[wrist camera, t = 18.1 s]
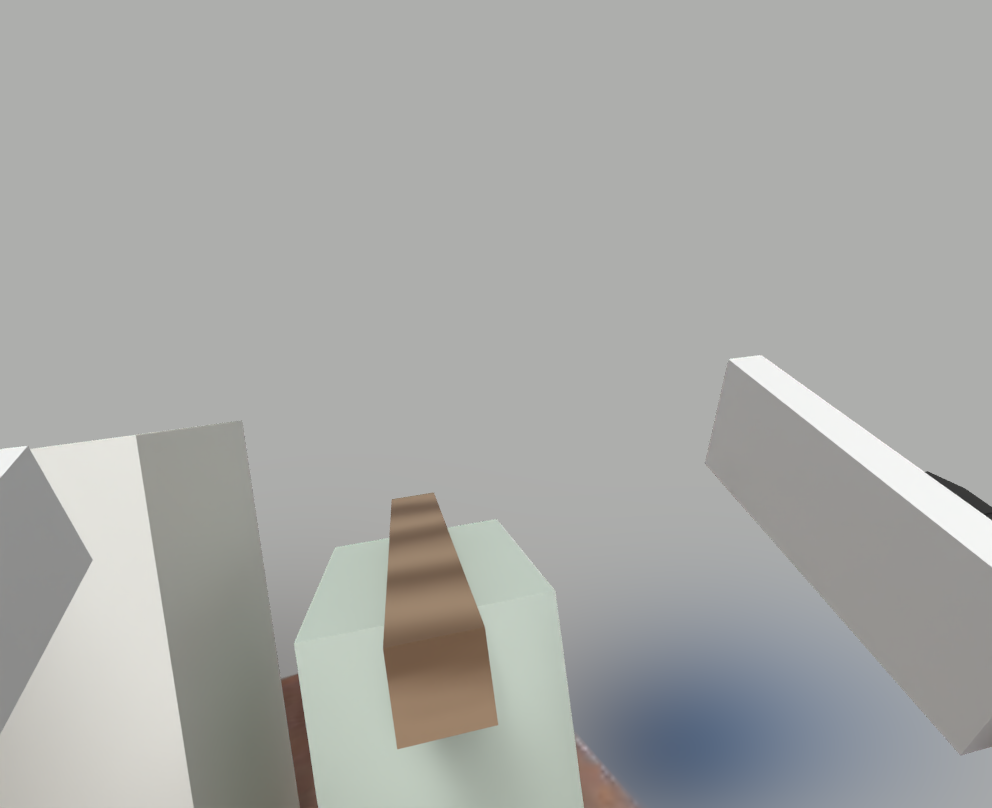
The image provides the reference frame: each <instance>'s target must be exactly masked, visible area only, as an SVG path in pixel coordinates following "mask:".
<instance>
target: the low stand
mask: <svg viewBox="0 0 992 808" xmlns="http://www.w3.org/2000/svg"><path fill="white" fill-rule="evenodd" d="M447 529H448V532H449V534H450V537H451V539H452V542H453V545H454V547H455V550H456V552H457V555H458V558H459V560H460V563H461V566H462V568H463V571H464V573H465V576H466V579H467V581H468V584H469V587H470V589H471V592H472V594H473V597H474V600H475V602H476V605H477V608H478V610H479V613H480V615H481V618H482V621H483V623H484V626H485V631H486V639H487V646H488V653H489V661H490V668H491V675H492V683H493V690H494V697H495V705H496V712H497V719H498V725H497V726H492V727H488V728H484V729H480V730H476V731H472V732H468V733H463V734H459V735H455V736H451V737H447V738H443V739H439V740H434V741H430V742H426V743H422V744H418V745H414V746H410V747H405V748H401V749H397V744H396V737H395V730H394V723H393V716H392V709H391V702H390V695H389V688H388V681H387V674H386V667H385V660H384V653H383V638H384V621H385V605H386V588H387V571H388V555H389V538H386V539H381V540H375V541H369V542H363V543H358V544H352V545H347V546H341V547H336V548H335V549H334V551H333V553H332V556H331V558H330V561H329V563H328V565H327V568H326V570H325V572H324V575H323V577H322V579H321V582H320V584H319V586H318V588H317V591H316V593H315V595H314V598H313V600H312V602H311V605H310V607H309V609H308V612H307V614H306V617H305V619H304V621H303V624H302V626H301V628H300V630H299V633H298V635H297V637H296V640H295V642H294V648H295V655H296V661H297V668H298V675H299V682H300V688H301V695H302V702H303V709H304V715H305V722H306V729H307V736H308V742H309V749H310V756H311V763H312V769H313V776H314V783H315V790H316V797H317V803H318V808H584V805H583V798H582V790H581V783H580V775H579V767H578V760H577V752H576V745H575V737H574V729H573V722H572V714H571V707H570V700H569V691H568V684H567V677H566V670H565V662H564V654H563V646H562V638H561V631H560V623H559V616H558V608H557V600H556V593H555V590H554V589H553V588H552V586H551V585H550V584H549V583H548V581H547V580H546V579H545V578H544V577H543V575H542V574H541V573H540V572H539V570H538V569H537V568H536V567H535V566H534V564H533V563H532V562H531V560H530V559H529V558H528V557H527V556H526V554H525V553H524V552H523V551H522V549H521V548H520V547H519V546H518V544H517V543H516V542H515V541H514V540H513V538H512V537H511V536H510V535H509V533H508V532H507V531H506V530H505V528H504V527H503V526H502V525H501V524H500V522H499V521H498V520H497V519H495V520H489V521H483V522H477V523H472V524H466V525H460V526H455V527H449V528H447Z"/></svg>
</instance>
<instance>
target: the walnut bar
mask: <svg viewBox="0 0 992 808" xmlns="http://www.w3.org/2000/svg"><path fill="white" fill-rule="evenodd" d="M383 653H384V660H385V667H386V674H387V681H388V688H389V695H390V702H391V709H392V716H393V723H394V730H395V737H396V744H397V749H401V748H405V747H410V746H414V745H418V744H422V743H426V742H430V741H434V740H439V739H443V738H447V737H451V736H455V735H459V734H463V733H468V732H472V731H476V730H480V729H484V728H488V727H492V726H497V725H498V719H497V712H496V705H495V697H494V690H493V683H492V675H491V668H490V661H489V653H488V646H487V639H486V631H485V626H484V623H483V621H482V618H481V615H480V613H479V610H478V608H477V605H476V602H475V600H474V597H473V594H472V592H471V589H470V587H469V584H468V581H467V579H466V576H465V573H464V571H463V568H462V566H461V563H460V560H459V558H458V555H457V552H456V550H455V547H454V545H453V542H452V539H451V537H450V534H449V532H448V529H447V526H446V524H445V521H444V519H443V516H442V513H441V511H440V508H439V505H438V503H437V500H436V498H435V495H434V493H428V494H422V495H416V496H410V497H404V498H398V499H392V505H391V523H390V538H389V555H388V571H387V588H386V605H385V621H384V638H383Z"/></svg>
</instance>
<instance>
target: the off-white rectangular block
mask: <svg viewBox="0 0 992 808" xmlns="http://www.w3.org/2000/svg"><path fill="white" fill-rule="evenodd" d="M30 450H31V452H32V454H33V456H34V457H35V459H36V461H37V463H38V464H39V466H40V468H41V470H42V471H43V473H44V475H45V477H46V479H47V480H48V482H49V484H50V486H51V487H52V489H53V491H54V493H55V494H56V496H57V498H58V500H59V501H60V503H61V505H62V507H63V508H64V510H65V512H66V514H67V515H68V517H69V519H70V521H71V522H72V524H73V526H74V528H75V530H76V531H77V533H78V535H79V537H80V538H81V540H82V542H83V544H84V545H85V547H86V549H87V551H88V552H89V554H90V556H91V558H92V559H93V561H92V563H91V564H90V566H89V568H88V570H87V572H86V574H85V576H84V578H83V579H82V581H81V583H80V585H79V587H78V589H77V591H76V593H75V595H74V596H73V598H72V600H71V602H70V604H69V606H68V608H67V610H66V611H65V613H64V615H63V617H62V619H61V621H60V623H59V625H58V627H57V628H56V630H55V632H54V634H53V636H52V638H51V640H50V642H49V643H48V645H47V647H46V649H45V651H44V653H43V655H42V657H41V659H40V660H39V662H38V664H37V666H36V668H35V670H34V672H33V674H32V675H31V677H30V679H29V681H28V683H27V685H26V687H25V689H24V691H23V692H22V694H21V696H20V698H19V700H18V702H17V704H16V706H15V707H14V709H13V711H12V713H11V715H10V717H9V719H8V721H7V723H6V724H5V726H4V728H3V730H2V732H1V734H0V808H300V805H299V798H298V792H297V785H296V778H295V772H294V765H293V758H292V751H291V745H290V738H289V731H288V725H287V718H286V711H285V704H284V698H283V691H282V684H281V678H280V671H279V665H278V658H277V652H276V645H275V637H274V632H273V624H272V618H271V611H270V604H269V597H268V591H267V584H266V577H265V570H264V564H263V557H262V550H261V544H260V537H259V530H258V523H257V517H256V510H255V504H254V497H253V490H252V483H251V477H250V470H249V463H248V456H247V450H246V443H245V436H244V430H243V423H242V421H235V422H227V423H220V424H213V425H206V426H197V427H191V428H183V429H175V430H168V431H161V432H153V433H145V434H138V435H130V436H124V437H115V438H108V439H101V440H93V441H86V442H78V443H71V444H63V445H56V446H48V447H42V448H34V449H30Z"/></svg>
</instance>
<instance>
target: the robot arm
mask: <svg viewBox="0 0 992 808" xmlns="http://www.w3.org/2000/svg"><path fill="white" fill-rule="evenodd" d="M705 464H706V465H707V466H708V468H709V469H710V470H711V471H712V472H713V473H714V474H715V476H716V477H717V478H718V479H719V480H720V481H721V482H722V484H723V485H724V486H725V487H726V488H727V489H728V490H729V492H730V493H731V494H732V495H733V496H734V497H735V498H736V500H737V501H738V502H739V503H740V504H741V505H742V506H743V508H744V509H745V510H746V511H747V512H748V513H749V514H750V516H751V517H752V518H753V519H754V520H755V521H756V522H757V524H758V525H759V526H760V527H761V528H762V529H763V530H764V532H765V533H766V534H767V535H768V536H769V537H770V538H771V540H772V541H773V542H774V543H775V544H776V545H777V546H778V548H779V549H780V550H781V551H782V552H783V553H784V554H785V556H786V557H787V558H788V559H789V560H790V561H791V562H792V564H793V565H794V566H795V567H796V568H797V569H798V570H799V572H801V574H802V575H803V576H804V577H805V578H806V580H807V581H808V582H809V583H810V584H811V585H812V586H813V588H814V589H815V590H816V591H817V592H818V593H819V594H820V596H821V597H822V598H823V599H824V600H825V601H826V602H827V604H828V605H829V606H830V607H831V608H832V609H833V610H834V612H835V613H836V614H837V615H838V616H839V617H840V618H841V620H842V621H843V622H844V623H845V624H846V625H847V626H848V628H849V629H850V630H851V631H852V632H853V633H854V634H855V636H856V637H857V638H858V639H859V640H860V641H861V642H862V643H863V645H864V646H865V647H866V648H867V649H868V650H869V652H870V653H871V654H872V655H873V656H874V657H875V658H876V659H877V661H878V662H879V663H880V664H881V665H882V666H883V667H884V669H886V671H887V672H888V673H889V674H890V675H891V677H892V678H893V679H894V680H895V681H896V682H897V683H898V685H899V686H900V687H901V688H902V689H903V690H904V691H905V693H906V694H907V695H908V696H909V697H910V698H911V699H912V700H913V702H914V703H915V704H916V705H917V706H918V707H919V708H920V709H921V711H922V712H923V713H924V714H925V715H926V717H927V718H928V719H929V720H930V721H931V722H932V723H933V725H934V726H935V727H936V728H937V729H938V730H939V731H940V733H941V734H942V735H943V736H944V737H945V738H946V739H947V741H948V742H949V743H950V744H951V745H952V746H953V747H954V749H955V750H956V751H957V752H958V753H959V754H960V755H964V754H967V753H971V752H974V751H978V750H981V749H985V748H989V747H992V507H991V506H989V505H988V504H986V503H985V502H984V501H982V500H981V499H979V498H978V497H976V496H975V495H974V494H972V493H971V492H969V491H968V490H966V489H965V488H963V487H960V486H958V485H956V484H954V483H952V482H950V481H947V480H945V479H943V478H941V477H939V476H937V475H934V474H932V473H930V472H924V471H922V470H921V469H919V468H918V467H917V466H915V465H914V464H912V463H911V462H910V461H908V460H907V459H905V458H904V457H902V456H901V455H900V454H898V453H897V452H896V451H894V450H893V449H891V448H890V447H888V446H887V445H886V444H885V443H883V442H882V441H880V440H879V439H878V438H876V437H875V436H873V435H872V434H870V433H869V432H868V431H866V430H865V429H864V428H862V427H861V426H859V425H858V424H857V423H855V422H854V421H852V420H851V419H850V418H848V417H847V416H845V415H844V414H843V413H841V412H840V411H838V410H837V409H836V408H834V407H833V406H831V405H830V404H829V403H827V402H826V401H824V400H823V399H822V398H820V397H819V396H818V395H816V394H815V393H813V392H812V391H811V390H809V389H808V388H806V387H805V386H804V385H802V384H801V383H799V382H798V381H797V380H795V379H793V378H792V377H791V376H789V375H788V374H787V373H785V372H784V371H783V370H781V369H780V368H778V367H777V366H776V365H774V364H773V363H771V362H770V361H769V360H767V359H766V358H764V357H763V356H762V355H758V356H750V357H743V358H734V359H728V363H727V368H726V372H725V377H724V381H723V386H722V390H721V394H720V399H719V403H718V408H717V412H716V416H715V421H714V426H713V430H712V434H711V439H710V443H709V448H708V452H707V456H706V461H705ZM92 561H93V559H92V558H91V556H90V554H89V552H88V551H87V549H86V547H85V545H84V544H83V542H82V540H81V538H80V537H79V535H78V533H77V531H76V530H75V528H74V526H73V524H72V522H71V521H70V519H69V517H68V515H67V514H66V512H65V510H64V508H63V507H62V505H61V503H60V501H59V500H58V498H57V496H56V494H55V493H54V491H53V489H52V487H51V486H50V484H49V482H48V480H47V479H46V477H45V475H44V473H43V471H42V470H41V468H40V466H39V464H38V463H37V461H36V459H35V457H34V456H33V454H32V452H31V450H30V449H29V447H28V446H22V447H14V448H6V449H0V734H1V732H2V730H3V728H4V726H5V724H6V723H7V721H8V719H9V717H10V715H11V713H12V711H13V709H14V707H15V706H16V704H17V702H18V700H19V698H20V696H21V694H22V692H23V691H24V689H25V687H26V685H27V683H28V681H29V679H30V677H31V675H32V674H33V672H34V670H35V668H36V666H37V664H38V662H39V660H40V659H41V657H42V655H43V653H44V651H45V649H46V647H47V645H48V643H49V642H50V640H51V638H52V636H53V634H54V632H55V630H56V628H57V627H58V625H59V623H60V621H61V619H62V617H63V615H64V613H65V611H66V610H67V608H68V606H69V604H70V602H71V600H72V598H73V596H74V595H75V593H76V591H77V589H78V587H79V585H80V583H81V581H82V579H83V578H84V576H85V574H86V572H87V570H88V568H89V566H90V564H91V563H92Z"/></svg>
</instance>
